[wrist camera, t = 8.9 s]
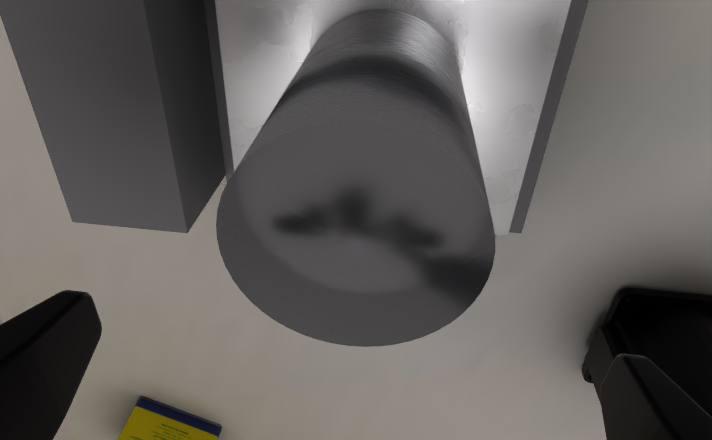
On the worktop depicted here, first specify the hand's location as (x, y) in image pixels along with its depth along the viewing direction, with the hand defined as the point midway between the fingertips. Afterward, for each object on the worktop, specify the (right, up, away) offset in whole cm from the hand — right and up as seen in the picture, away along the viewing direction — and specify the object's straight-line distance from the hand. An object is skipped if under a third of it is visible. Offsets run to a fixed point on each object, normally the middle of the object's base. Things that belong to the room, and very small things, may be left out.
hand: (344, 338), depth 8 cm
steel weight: (+1, +6, +7) cm, 9 cm away
